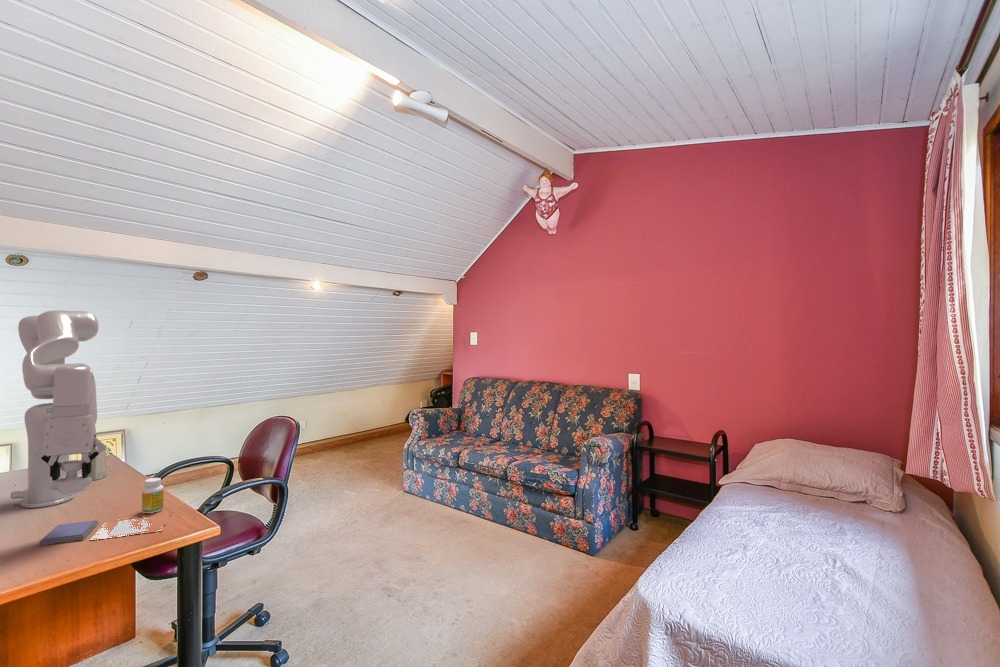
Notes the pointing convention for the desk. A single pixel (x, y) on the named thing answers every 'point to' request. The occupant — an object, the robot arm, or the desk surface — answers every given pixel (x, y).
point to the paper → (121, 529)
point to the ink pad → (69, 532)
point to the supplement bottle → (152, 496)
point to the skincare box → (98, 465)
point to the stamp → (71, 478)
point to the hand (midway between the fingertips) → (71, 477)
